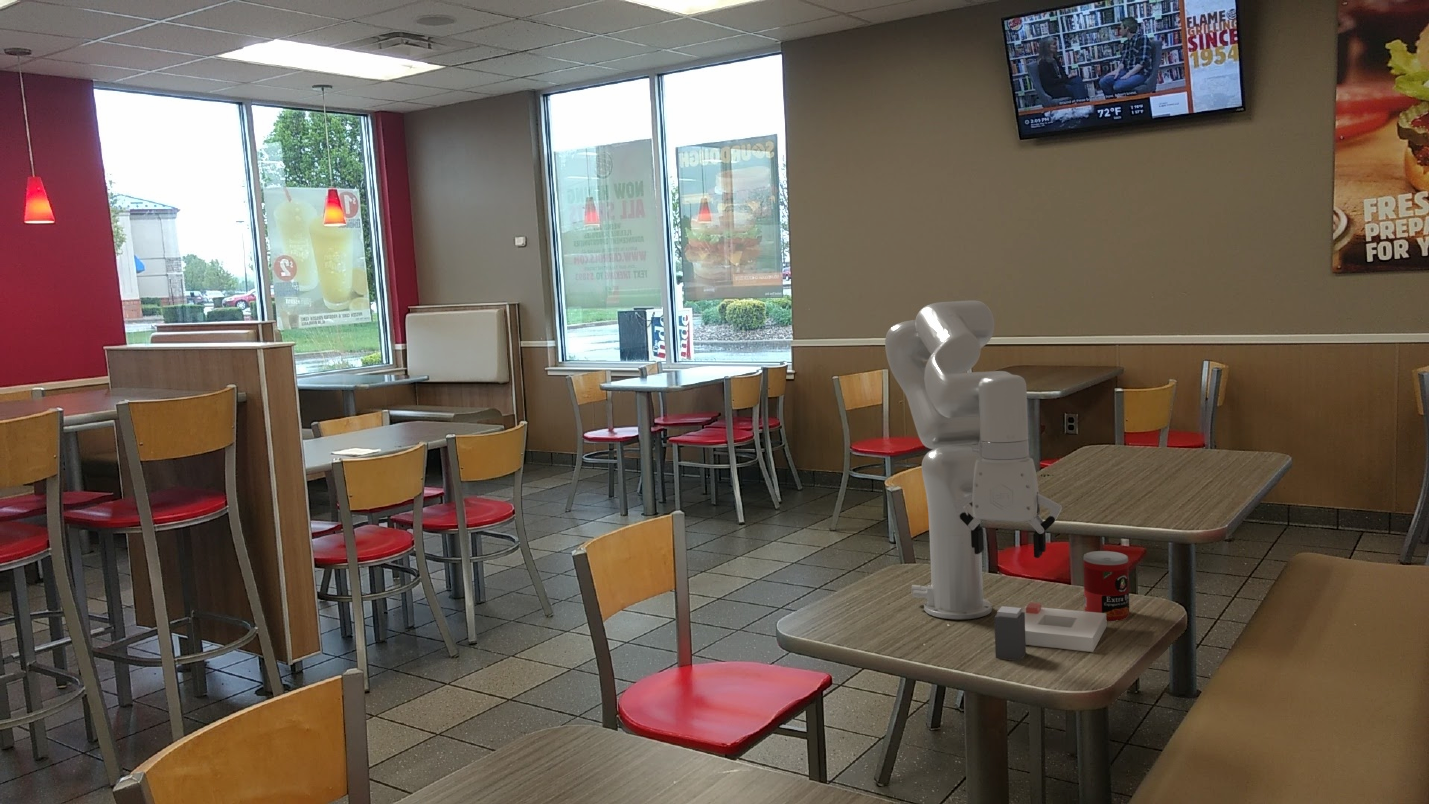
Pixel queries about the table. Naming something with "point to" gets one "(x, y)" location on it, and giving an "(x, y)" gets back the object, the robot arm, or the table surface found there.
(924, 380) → the robot arm
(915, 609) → the table surface
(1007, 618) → the plug
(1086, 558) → the canned food
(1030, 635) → the socket plate
